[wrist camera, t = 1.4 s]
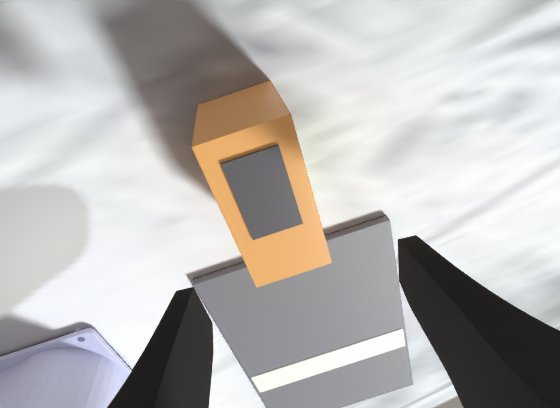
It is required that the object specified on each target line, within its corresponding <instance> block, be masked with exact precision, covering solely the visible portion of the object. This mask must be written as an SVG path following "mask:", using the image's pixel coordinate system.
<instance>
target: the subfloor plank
mask: <svg viewBox="0 0 560 408" xmlns="http://www.w3.org/2000/svg"><path fill="white" fill-rule="evenodd" d="M325 239H326V243H327V246H328V250H329V254H330V257H331V261H332V263H331V264H328V265H325V266H321V267H318V268H315V269H312V270H309V271H306V272H303V273H300V274H297V275H294V276H291V277H288V278H285V279H282V280H279V281H276V282H273V283H270V284H267V285H264V286H260V287H257V288H256V286H255V283H254V281H253V279H252V277H251V275H250V273H249V270H248V268H247V266H246V264H245V262H243V263H240V264H237V265H234V266H231V267H228V268H225V269H222V270H219V271H216V272H213V273H210V274H207V275H204V276H201V277H198V278H195V279H193V286H194V288H195V290H196V291H197V293H198V295H199V296H200V298H201V299H202V301H203V303H204V304H205V306H206V308H207V309H208V311H209V313H210V314H211V316H212V318H213V319H214V321H215V323H216V324H217V326H218V328H219V329H220V331H221V333H222V334H223V336H224V338H225V339H226V341H227V343H228V344H229V346H230V348H231V349H232V351H233V353H234V354H235V356H236V358H237V359H238V361H239V363H240V364H241V366H242V368H243V369H244V371H245V372H246V374H247V376H248V377H249V379H250V381H251V382H252V384H253V386H254V387H255V389H256V391H257V392H258V394H259V396H260V397H261V399H262V401H263V402H264V404H265V406H266V407H267V408H342V407H345V406H348V405H351V404H354V403H357V402H360V401H363V400H366V399H370V398H373V397H376V396H379V395H382V394H385V393H388V392H391V391H394V390H398V389H401V388H404V387H407V386H410V385H413V381H412V374H411V367H410V360H409V353H408V345H407V338H406V331H405V324H404V317H403V310H402V303H401V296H400V289H399V281H398V274H397V267H396V260H395V253H394V246H393V239H392V232H391V225H390V220H389V218H388V217H387V216H383V217H379V218H376V219H373V220H370V221H367V222H364V223H361V224H358V225H355V226H352V227H349V228H346V229H343V230H340V231H337V232H334V233H331V234H328V235H325Z"/></svg>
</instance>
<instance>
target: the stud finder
mask: <svg viewBox="0 0 560 408" xmlns="http://www.w3.org/2000/svg"><path fill="white" fill-rule="evenodd" d="M192 149H193V152H194V154H195V156H196V158H197V160H198V162H199V165H200V167H201V169H202V171H203V173H204V175H205V178H206V180H207V182H208V184H209V186H210V188H211V191H212V193H213V195H214V197H215V199H216V201H217V203H218V206H219V208H220V210H221V212H222V214H223V216H224V219H225V221H226V223H227V225H228V227H229V229H230V232H231V234H232V236H233V238H234V240H235V242H236V244H237V247H238V249H239V251H240V253H241V255H242V257H243V260H244V262H245V264H246V266H247V268H248V270H249V273H250V275H251V277H252V279H253V281H254V283H255V286H256V288H257V287H260V286H264V285H267V284H270V283H273V282H276V281H279V280H282V279H285V278H288V277H291V276H294V275H297V274H300V273H303V272H306V271H309V270H312V269H315V268H318V267H321V266H325V265H328V264H331V263H332V261H331V257H330V254H329V250H328V246H327V243H326V239H325V235H324V232H323V228H322V225H321V221H320V217H319V214H318V210H317V207H316V203H315V199H314V196H313V192H312V189H311V185H310V181H309V178H308V174H307V170H306V167H305V163H304V160H303V156H302V152H301V149H300V145H299V142H298V138H297V134H296V131H295V127H294V123H293V120H292V116H291V113H290V112H289V110H288V108H287V107H286V105H285V103H284V102H283V100H282V98H281V97H280V95H279V94H278V92H277V90H276V89H275V87H274V85H273V84H272V82H271V80H269V81H266V82H264V83H261V84H258V85H255V86H252V87H249V88H246V89H243V90H240V91H237V92H234V93H231V94H228V95H225V96H222V97H219V98H216V99H213V100H210V101H208V102H205V103H202V104H199V105H198V108H197V115H196V121H195V128H194V134H193V140H192Z"/></svg>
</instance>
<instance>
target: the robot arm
mask: <svg viewBox="0 0 560 408" xmlns="http://www.w3.org/2000/svg"><path fill="white" fill-rule="evenodd" d="M398 260H399V282H400V284H401V286H402V289H403V291H404V294H405V296H406V298H407V301H408V303H409V305H410V307H411V309H412V311H413V313H414V315H415V316H416V318H417V320H418V322H419V324H420V325H421V327H422V329H423V331H424V332H425V334H426V336H427V338H428V339H429V341H430V343H431V345H432V346H433V348H434V350H435V352H436V353H437V355H438V357H439V359H440V360H441V362H442V364H443V366H444V368H445V369H446V371H447V373H448V375H449V377H450V379H451V381H452V383H453V385H454V388H455V390H456V392H457V394H458V396H459V398H460V401H461V403H462V405H463V407H464V408H560V331H559V330H557V329H555V328H553V327H551V326H549V325H547V324H545V323H543V322H541V321H540V320H538V319H536V318H534V317H532V316H530V315H529V314H527V313H525V312H524V311H522V310H520V309H518V308H517V307H515V306H513V305H512V304H510V303H508V302H507V301H505V300H503V299H502V298H500V297H499V296H497V295H496V294H494V293H493V292H491V291H490V290H488V289H487V288H485V287H483V286H482V285H481V284H479V283H478V282H476V281H475V280H473V279H472V278H471V277H469V276H468V275H466V274H465V273H464V272H462V271H461V270H460V269H458V268H457V267H456V266H454V265H453V264H452V263H450V262H449V261H448V260H446V259H445V258H444V257H443V256H441V255H440V254H439V253H437V252H436V251H435V250H434V249H432V248H431V247H430V246H429V245H428V244H426V243H425V242H424V241H423V240H421V239H420V238H419V237H417V236H416V235H415V236H411V237H407V238H402V239H398ZM212 362H213V327H212V321H211V320H210V318H209V316H208V314H207V312H206V310H205V308H204V306H203V304H202V302H201V301H200V299H199V297H198V295H197V293H196V291H195V289H194V287H191V288H187V289H183V290H179V291H176V293H175V294H174V296H173V298H172V300H171V302H170V304H169V306H168V308H167V309H166V311H165V313H164V315H163V317H162V319H161V321H160V323H159V325H158V326H157V328H156V330H155V332H154V334H153V336H152V337H151V339H150V341H149V343H148V344H147V346H146V348H145V350H144V351H143V353H142V355H141V357H140V358H139V360H138V361H137V363H136V365H135V366H134V368H133V369H132V370H131V369H130V368H129V367H128V366H127V365H126V363H125V362H124V361H123V360H122V359H121V358H120V357H119V356H118V355H117V354H116V353H115V351H114V350H113V349H112V348H111V347H110V346H109V345H108V344H107V343H106V342H105V340H104V339H103V338H102V337H101V336H100V335H99V334H98V333H97V332H96V331H95V330H94V329H91V328H86V329H83V330H80V331H77V332H74V333H71V334H68V335H65V336H62V337H59V338H56V339H52V340H49V341H46V342H43V343H40V344H37V345H34V346H31V347H28V348H25V349H22V350H19V351H16V352H13V353H10V354H7V355H4V356H1V357H0V408H208V407H209V396H210V385H211V374H212Z"/></svg>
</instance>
